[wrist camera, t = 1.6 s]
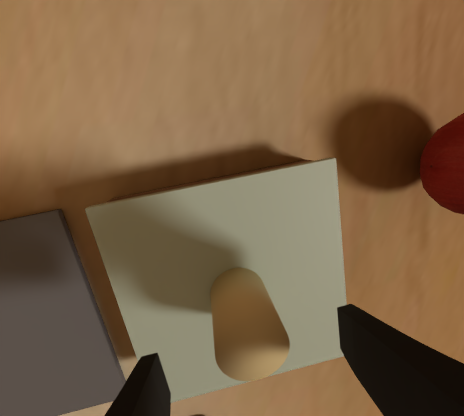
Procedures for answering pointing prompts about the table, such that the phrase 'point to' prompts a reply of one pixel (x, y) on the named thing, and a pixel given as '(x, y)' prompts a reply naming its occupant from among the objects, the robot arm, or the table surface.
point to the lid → (229, 274)
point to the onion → (445, 166)
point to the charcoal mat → (50, 324)
